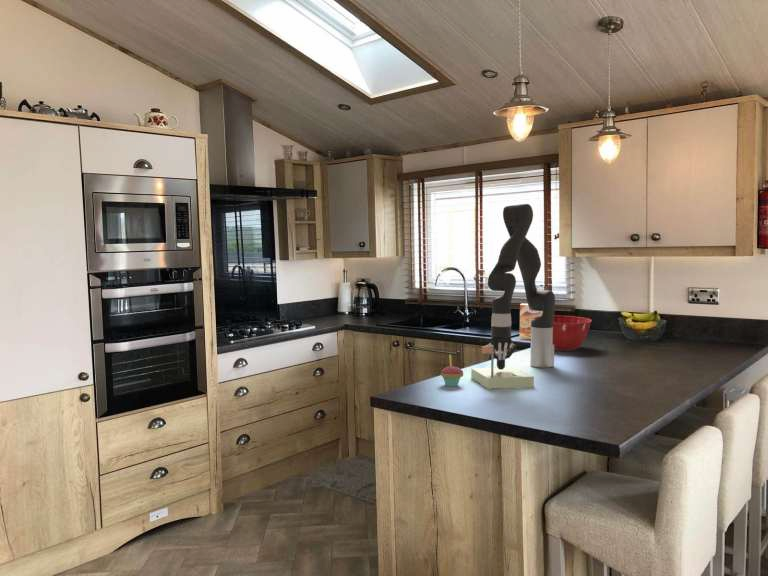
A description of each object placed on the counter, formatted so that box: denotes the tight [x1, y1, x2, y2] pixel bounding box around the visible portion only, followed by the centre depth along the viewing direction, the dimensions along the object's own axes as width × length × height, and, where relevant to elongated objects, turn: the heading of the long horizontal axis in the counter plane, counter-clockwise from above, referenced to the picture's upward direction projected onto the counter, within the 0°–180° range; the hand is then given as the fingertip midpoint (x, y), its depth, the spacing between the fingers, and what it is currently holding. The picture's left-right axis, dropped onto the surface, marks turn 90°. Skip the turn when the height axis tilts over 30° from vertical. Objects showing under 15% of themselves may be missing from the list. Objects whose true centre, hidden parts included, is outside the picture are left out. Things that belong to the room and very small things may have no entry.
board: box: [470, 345, 535, 390], centre depth 241 cm, size 20×19×16 cm
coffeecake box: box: [519, 303, 543, 340], centre depth 350 cm, size 15×7×20 cm, turn 73°
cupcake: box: [440, 354, 464, 387], centre depth 237 cm, size 9×8×12 cm
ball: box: [501, 372, 513, 377], centre depth 237 cm, size 5×5×5 cm
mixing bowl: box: [533, 315, 592, 352], centre depth 317 cm, size 28×28×16 cm
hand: (500, 369), depth 242 cm, fingers closed
